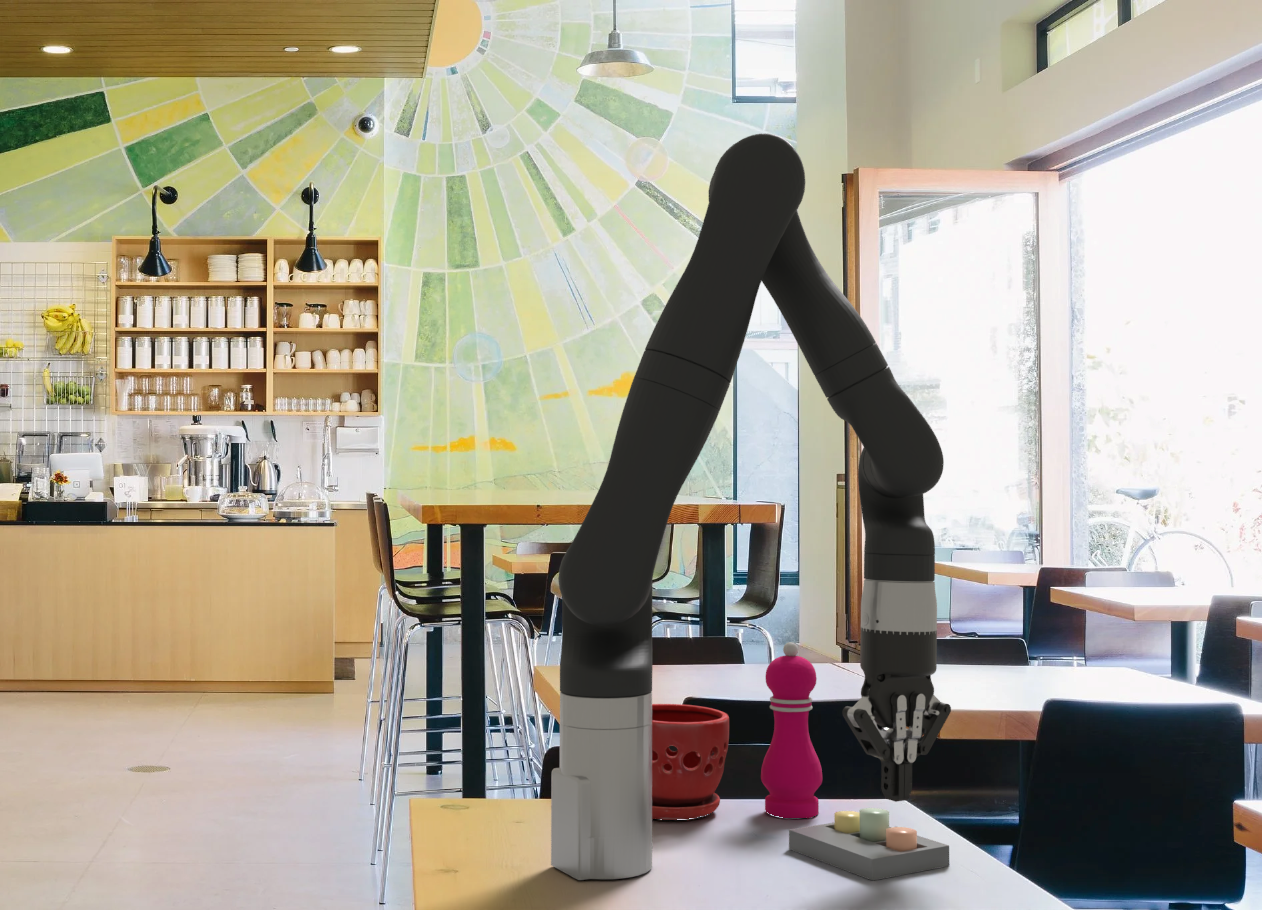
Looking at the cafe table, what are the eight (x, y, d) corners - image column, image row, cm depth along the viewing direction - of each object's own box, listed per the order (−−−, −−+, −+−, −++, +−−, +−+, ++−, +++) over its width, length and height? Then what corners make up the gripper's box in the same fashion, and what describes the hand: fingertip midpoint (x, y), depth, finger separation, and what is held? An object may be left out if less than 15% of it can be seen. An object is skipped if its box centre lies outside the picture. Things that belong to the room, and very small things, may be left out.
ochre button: (847, 848, 126) (847, 818, 126) (828, 841, 129) (828, 812, 129) (869, 844, 127) (869, 815, 128) (850, 838, 130) (850, 809, 130)
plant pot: (615, 826, 137) (615, 718, 137) (620, 799, 150) (621, 701, 150) (731, 827, 136) (731, 719, 137) (727, 801, 149) (726, 702, 150)
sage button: (873, 846, 123) (872, 816, 123) (853, 839, 125) (853, 809, 125) (895, 842, 124) (895, 812, 124) (875, 835, 127) (875, 806, 127)
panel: (872, 880, 116) (872, 859, 116) (789, 848, 127) (788, 829, 127) (949, 865, 121) (949, 845, 121) (862, 836, 132) (862, 817, 132)
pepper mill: (821, 806, 146) (819, 639, 147) (824, 821, 139) (823, 645, 140) (760, 805, 147) (759, 638, 148) (761, 819, 140) (760, 644, 141)
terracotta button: (900, 866, 119) (900, 835, 119) (880, 859, 122) (879, 829, 122) (923, 862, 121) (923, 831, 121) (902, 855, 123) (902, 825, 123)
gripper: (873, 630, 116) (871, 814, 115) (973, 627, 123) (972, 800, 122) (823, 623, 122) (820, 797, 121) (920, 621, 129) (919, 786, 128)
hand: (896, 799), depth 122 cm, fingers closed
